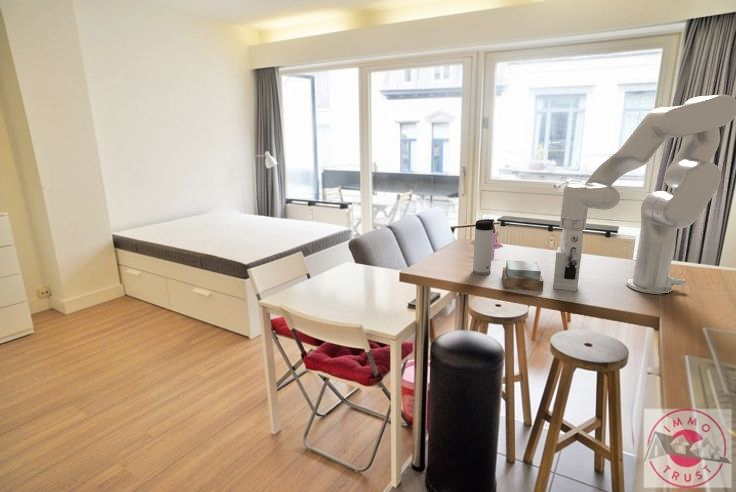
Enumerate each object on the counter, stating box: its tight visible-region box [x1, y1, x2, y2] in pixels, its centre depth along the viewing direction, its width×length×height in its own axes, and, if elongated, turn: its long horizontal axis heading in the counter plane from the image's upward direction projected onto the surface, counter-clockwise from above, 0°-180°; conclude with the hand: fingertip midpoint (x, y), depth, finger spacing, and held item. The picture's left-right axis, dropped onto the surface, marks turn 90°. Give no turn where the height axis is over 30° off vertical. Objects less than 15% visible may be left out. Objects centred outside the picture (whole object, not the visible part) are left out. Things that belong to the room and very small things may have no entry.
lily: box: [470, 231, 504, 260], centre depth 178 cm, size 12×12×10 cm
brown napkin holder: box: [501, 259, 544, 292], centre depth 146 cm, size 12×12×6 cm
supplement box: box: [552, 246, 582, 292], centre depth 141 cm, size 7×7×13 cm
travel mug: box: [472, 218, 496, 276], centre depth 155 cm, size 6×7×20 cm
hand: (566, 274), depth 142 cm, fingers open, 8 cm apart
